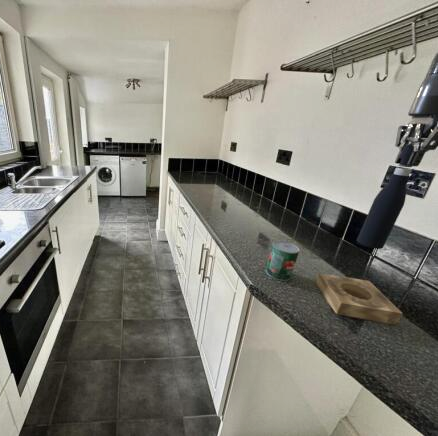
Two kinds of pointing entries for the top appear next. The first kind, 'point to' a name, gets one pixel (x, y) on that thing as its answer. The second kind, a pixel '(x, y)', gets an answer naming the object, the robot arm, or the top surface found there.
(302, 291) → the top surface
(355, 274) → the top surface
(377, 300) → the hole plate
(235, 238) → the top surface
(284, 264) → the canned tomato
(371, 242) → the dark blue water bottle
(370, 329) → the top surface
